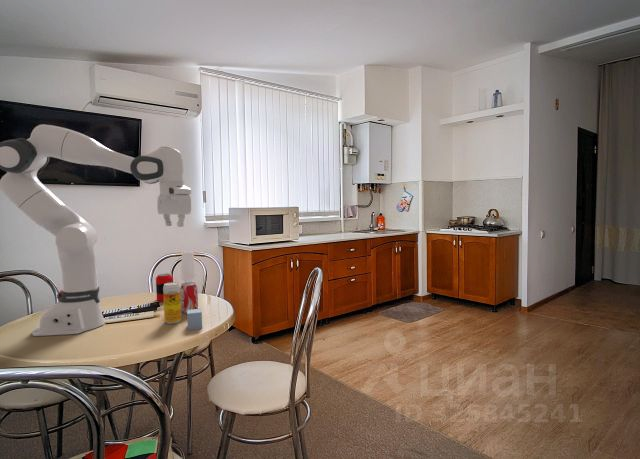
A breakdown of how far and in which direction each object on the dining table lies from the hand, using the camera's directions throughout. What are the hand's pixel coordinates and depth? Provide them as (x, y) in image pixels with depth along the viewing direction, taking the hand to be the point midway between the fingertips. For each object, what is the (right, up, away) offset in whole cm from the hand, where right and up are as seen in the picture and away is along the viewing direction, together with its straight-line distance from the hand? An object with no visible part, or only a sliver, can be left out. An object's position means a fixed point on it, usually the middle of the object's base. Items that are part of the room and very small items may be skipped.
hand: (174, 226), depth 145 cm
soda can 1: (-18, -35, +35) cm, 52 cm away
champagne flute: (-3, -35, +25) cm, 43 cm away
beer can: (-1, -37, +1) cm, 37 cm away
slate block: (+10, -38, -5) cm, 39 cm away
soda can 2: (+1, -36, +14) cm, 39 cm away
